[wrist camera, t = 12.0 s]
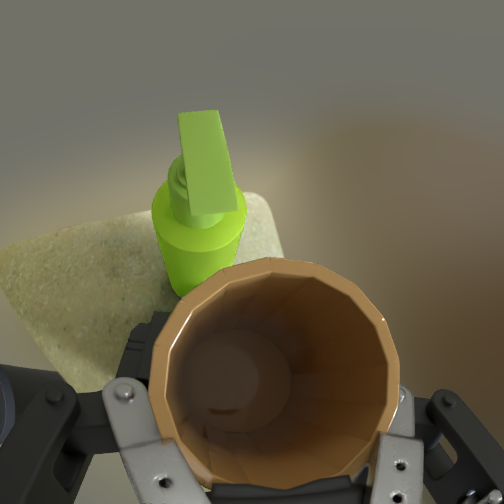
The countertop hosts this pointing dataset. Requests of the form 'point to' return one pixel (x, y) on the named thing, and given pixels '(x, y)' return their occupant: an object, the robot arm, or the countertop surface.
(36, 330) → the countertop surface
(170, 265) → the soap dispenser
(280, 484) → the cup
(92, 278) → the countertop surface
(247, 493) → the robot arm
